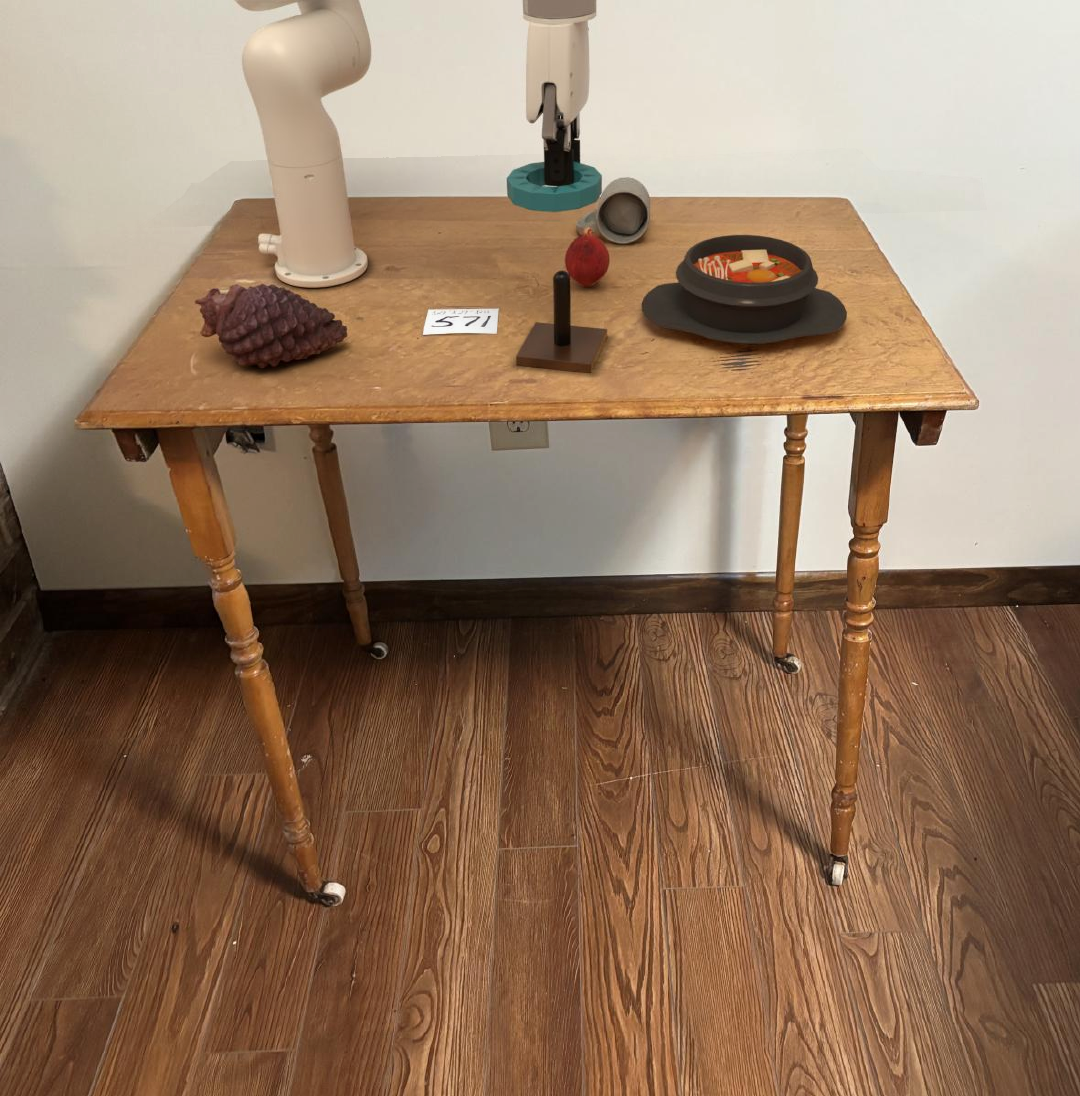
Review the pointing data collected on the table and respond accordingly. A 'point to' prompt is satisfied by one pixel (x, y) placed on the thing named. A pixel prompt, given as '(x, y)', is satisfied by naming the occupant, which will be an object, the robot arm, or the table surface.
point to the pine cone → (268, 324)
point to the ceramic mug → (620, 212)
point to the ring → (553, 189)
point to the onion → (587, 259)
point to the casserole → (745, 293)
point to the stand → (562, 337)
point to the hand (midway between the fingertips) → (562, 179)
